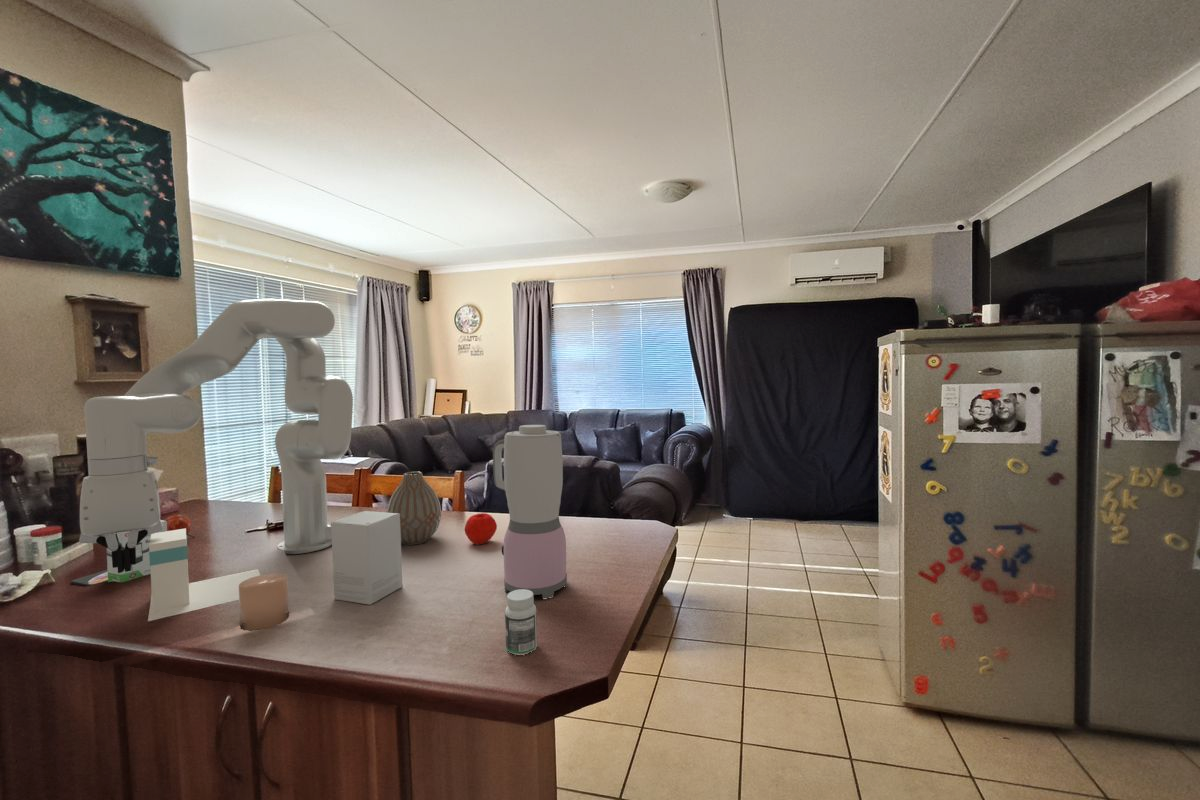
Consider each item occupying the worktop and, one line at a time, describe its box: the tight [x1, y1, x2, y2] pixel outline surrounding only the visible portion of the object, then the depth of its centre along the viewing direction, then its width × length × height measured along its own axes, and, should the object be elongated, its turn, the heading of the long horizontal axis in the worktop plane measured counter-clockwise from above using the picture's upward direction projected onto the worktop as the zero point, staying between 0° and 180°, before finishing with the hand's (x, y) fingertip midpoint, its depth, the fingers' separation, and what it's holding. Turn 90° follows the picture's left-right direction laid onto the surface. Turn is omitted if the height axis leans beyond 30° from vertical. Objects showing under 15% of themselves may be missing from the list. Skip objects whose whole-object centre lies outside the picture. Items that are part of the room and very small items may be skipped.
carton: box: [149, 528, 190, 612], centre depth 93 cm, size 5×8×12 cm, turn 39°
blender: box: [492, 424, 568, 598], centre depth 100 cm, size 16×12×32 cm
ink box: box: [106, 519, 167, 583], centre depth 107 cm, size 9×5×12 cm, turn 158°
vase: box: [386, 471, 442, 546], centre depth 129 cm, size 13×13×18 cm
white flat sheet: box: [147, 568, 261, 622], centre depth 97 cm, size 17×16×1 cm
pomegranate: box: [163, 514, 196, 539], centre depth 131 cm, size 7×7×10 cm
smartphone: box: [70, 569, 109, 587], centre depth 111 cm, size 8×1×15 cm
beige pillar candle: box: [238, 572, 290, 632], centre depth 87 cm, size 7×7×7 cm
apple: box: [464, 512, 498, 545], centre depth 127 cm, size 8×8×7 cm
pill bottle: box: [504, 589, 538, 654], centre depth 77 cm, size 5×5×8 cm
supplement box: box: [330, 510, 403, 605], centre depth 98 cm, size 9×9×15 cm
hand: (125, 569), depth 89 cm, fingers closed
